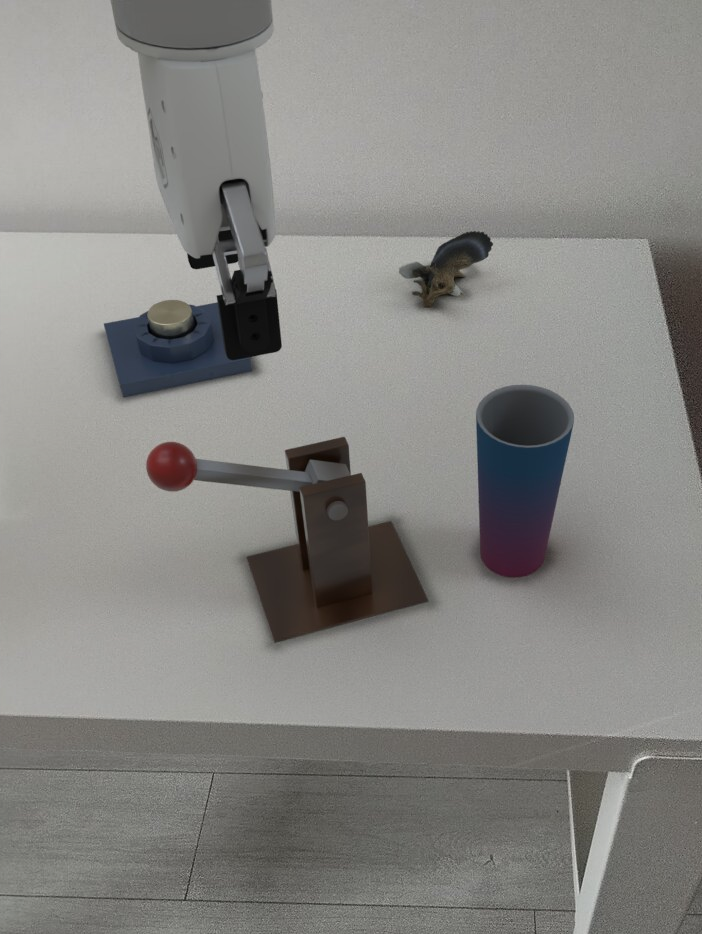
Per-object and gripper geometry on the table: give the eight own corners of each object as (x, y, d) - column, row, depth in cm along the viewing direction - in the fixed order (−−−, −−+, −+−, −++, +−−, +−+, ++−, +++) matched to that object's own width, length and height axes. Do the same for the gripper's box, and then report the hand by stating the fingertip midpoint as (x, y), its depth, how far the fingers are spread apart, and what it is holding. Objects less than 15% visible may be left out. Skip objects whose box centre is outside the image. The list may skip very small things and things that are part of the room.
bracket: (275, 651, 77) (254, 530, 68) (248, 566, 83) (224, 443, 73) (428, 609, 80) (428, 488, 70) (391, 530, 86) (387, 407, 76)
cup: (571, 562, 84) (594, 415, 72) (514, 607, 80) (528, 461, 69) (509, 519, 87) (521, 372, 75) (451, 561, 83) (455, 414, 72)
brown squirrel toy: (473, 319, 103) (509, 260, 107) (433, 261, 99) (472, 202, 103) (419, 333, 108) (455, 276, 112) (379, 279, 104) (417, 222, 108)
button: (155, 344, 95) (151, 328, 94) (147, 320, 98) (143, 304, 97) (198, 335, 96) (195, 319, 95) (190, 312, 99) (186, 296, 98)
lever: (145, 499, 66) (157, 460, 64) (137, 467, 68) (148, 428, 66) (342, 518, 74) (359, 484, 72) (330, 489, 76) (345, 454, 74)
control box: (124, 404, 95) (115, 368, 92) (108, 342, 102) (98, 307, 98) (253, 377, 98) (247, 342, 95) (230, 319, 104) (224, 284, 101)
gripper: (83, -58, 54) (144, 243, 67) (146, 83, 44) (203, 406, 57) (226, -70, 56) (258, 224, 69) (319, 62, 46) (336, 379, 59)
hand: (233, 306), depth 63 cm, fingers open, 9 cm apart
